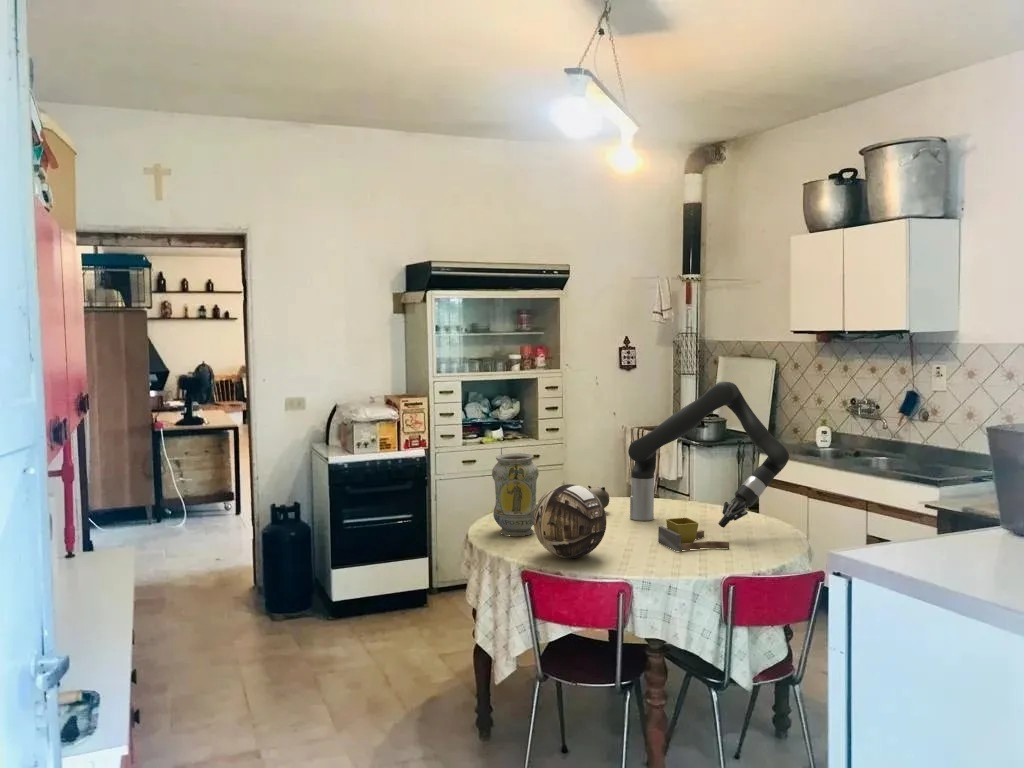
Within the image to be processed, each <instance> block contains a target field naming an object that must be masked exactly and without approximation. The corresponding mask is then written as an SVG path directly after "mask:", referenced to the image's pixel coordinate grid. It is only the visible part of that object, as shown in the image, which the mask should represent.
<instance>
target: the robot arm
mask: <svg viewBox="0 0 1024 768" xmlns="http://www.w3.org/2000/svg"><path fill="white" fill-rule="evenodd" d="M724 406H726V407H727V408H728V409H730V411H732V413H733V414H734V415H735V416H736V417H737V419H738V420H739V422H740V424H741V426H742V429H743V430H744V432H745V434H746V436H748V438H749V439H750V440H751V441H752V443H753V444H754V445H755V447H756V448H757V449H759V450H762V451H763V452H764V453H765V455H766V456H767V457H766V459H764V461H763V462H762V464H760V465H759V466H758V467H756V469H754V471H753V473H751V475H749V477H747V478H746V479H745V480H744V482H742V484H741V485H740V486H739V487H738V489H737V490H736V491H735V492H734V495H735V497H734V498H733V499H731V500H730V502H728V501H725V502H723V503H724V504H723V508H722V512H721V513H722V515H723V516H722V518H721V519H720V520H719V522H718V525H719V526H720V527H721V528H723V529H724V528H725V527H726V526H727V525H728V524H729V523H730V522H732V521H734V522H735V521H738V520H739V519H740V518H743V517H744V516H746V515H748V511H747V509H748V507H749V508H751V507H752V506H753V505H754V504H755V503H756V502H757V501H758V499H759V498H760V497H761V495H763V493H764V491H765V490H766V488H768V486H769V485H771V483H772V482H773V480H774V479H775V477H776V476H777V475H779V474H780V473H781V472H782V470H784V468H785V467H786V466H787V464H788V462H789V459H790V453H789V452H788V450H787V448H786V447H785V446H784V445H783V444H782V443H781V442H780V441H778V440H777V439H776V438H775V437H774V436H773V435H772V434H771V432H770V431H769V430H768V429H767V427H766V426H765V425H764V424H763V423H762V421H761V420H760V419H759V417H758V416H757V415H756V414H755V413H754V411H753V410H752V408H751V407H750V406H749V404H748V403H747V401H746V399H745V397H744V396H743V393H742V392H741V391H740V389H739V387H738V386H737V384H735V383H734V382H730V381H719V382H716V383H715V384H714V385H713V386H711V387H710V388H708V390H707V391H706V392H705V393H704V394H702V395H701V396H700V397H698V398H697V399H696V400H694V401H692V402H691V403H689V404H687V405H685V406H684V407H682V408H681V409H679V410H678V411H676V412H675V413H673V414H672V415H670V416H669V417H668V418H667V419H665V420H664V421H662V422H661V423H660V424H659V425H658V426H656V427H655V428H654V429H653V430H652V431H650V432H649V433H647V434H645V435H643V436H640V437H639V438H637V439H635V440H633V441H632V442H631V443H630V445H629V446H628V450H627V451H628V453H627V454H628V456H629V458H630V459H631V460H633V461H634V465H633V467H632V469H631V471H630V472H631V474H630V475H631V476H630V477H631V478H630V479H631V480H630V481H631V482H630V483H631V484H630V486H631V489H630V491H631V493H630V494H631V495H630V496H629V497H630V499H629V501H630V502H629V519H630V520H635V521H640V522H642V521H643V522H646V521H652V520H654V518H655V517H654V515H655V513H654V512H655V511H654V510H655V508H654V507H655V505H654V504H655V503H654V501H655V472H656V469H657V467H656V466H657V451H658V449H661V448H662V447H664V446H666V445H668V444H670V443H672V442H674V441H676V440H678V439H680V438H681V437H684V436H685V435H687V434H688V433H689V432H692V431H693V430H694V429H695V428H697V427H698V426H699V425H700V424H701V422H702V421H703V420H704V419H705V418H706V417H707V416H708V415H710V414H711V413H713V412H714V411H717V409H719V408H722V407H724Z"/></svg>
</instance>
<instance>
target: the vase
mask: <svg viewBox="0 0 1024 768" xmlns="http://www.w3.org/2000/svg"><path fill="white" fill-rule="evenodd" d="M495 459H496V461H497V463H495V464H494V466H493V467H492V469H491V476H492V479H493V481H494V488H495V489H494V492H495V505H494V508H493V514H492V515H493V519H494V521H495V522H496V524H497V525H498V526H499V527H500V528H501V529H500V531H499V533H500V534H501V533H502V534H504V535H510V536H521V537H526V536H525V535H528V536H530V534H531V535H533V533H534V530H533V529H532V527H534V523H533V518H534V512H535V509H536V506H537V504H538V503H537V480H538V478H539V475H540V474H539V468H538V466H537V465H536V464H535V463H534V462H533V459H534V454H531V453H524V452H523V453H521V452H515V453H514V452H512V453H503V454H497V455H496V456H495ZM502 534H501V535H502ZM504 535H503V536H504ZM510 536H509V537H510Z"/></svg>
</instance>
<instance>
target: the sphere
mask: <svg viewBox="0 0 1024 768" xmlns="http://www.w3.org/2000/svg"><path fill="white" fill-rule="evenodd" d="M536 504H537V506H536V509H535V512H534V518H533V523H534V525H533V529H534V530H533V531H534V534H535V535H536V537H537V539H538V541H539V543H540V545H542V547H543V548H544V549H545V550H547V551H548V552H549V553H551V554H552V555H554V556H557V557H558V558H559V557H560V558H564V559H577V558H581V557H585V556H586V555H588V554H590V553H591V552H592V551H594V550H595V549H596V548H597V547H598V546H599V545H600V543H601V542H602V541H603V538H604V537H605V533H606V530H607V515H606V510H605V508H604V507H603V505H602V503H601V501H600V500H599V499H598V497H597V496H596V495H595V494H594V493H592V492H591V491H590V490H589V488H586V487H584V486H582V485H579V484H567V483H566V484H561V485H557V486H556V487H553V488H551V489H550V490H548V491H547V492H545V494H543V495H542V497H541V498H540V499H539V500H538V502H537V503H536Z"/></svg>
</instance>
